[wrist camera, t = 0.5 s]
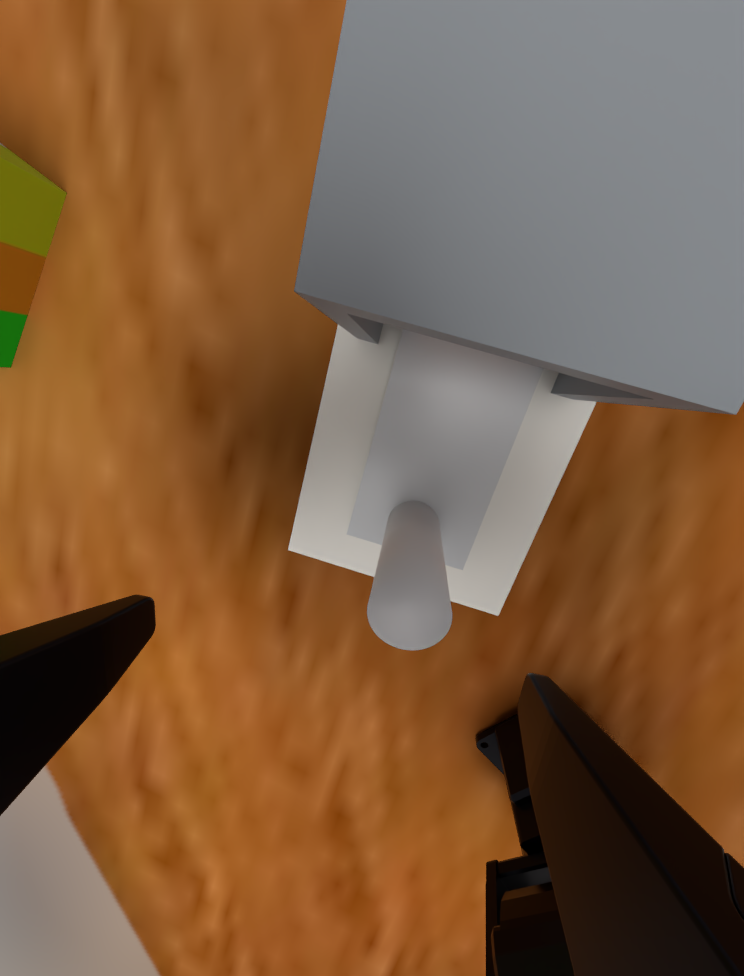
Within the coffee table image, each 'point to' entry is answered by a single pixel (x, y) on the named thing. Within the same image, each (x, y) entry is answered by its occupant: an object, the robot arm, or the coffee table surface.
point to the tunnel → (542, 189)
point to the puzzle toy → (22, 242)
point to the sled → (434, 477)
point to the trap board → (345, 450)
